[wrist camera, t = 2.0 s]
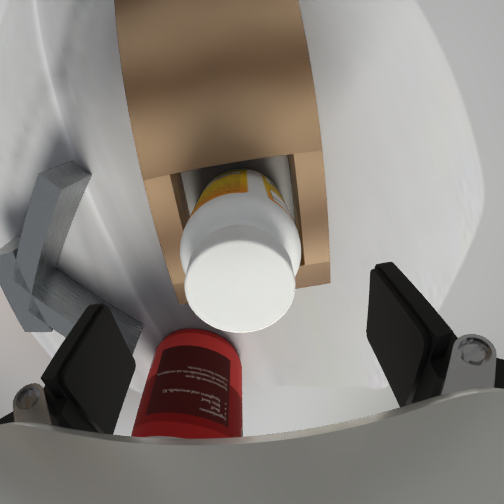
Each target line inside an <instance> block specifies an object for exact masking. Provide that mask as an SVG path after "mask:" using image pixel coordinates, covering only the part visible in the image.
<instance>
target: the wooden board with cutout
mask: <svg viewBox="0 0 504 504" xmlns="http://www.w3.org/2000/svg"><path fill="white" fill-rule="evenodd" d="M114 2H115V15H116V26H117V35H118V44H119V52H120V60H121V67H122V74H123V81H124V87H125V93H126V99H127V105H128V111H129V116H130V121H131V127H132V132H133V137H134V141H135V146H136V151H137V155H138V160H139V164H140V169H141V173H142V177H143V181H144V185H145V190H146V194H147V198H148V201H149V205H150V209H151V213H152V217H153V220H154V224H155V228H156V231H157V235H158V238H159V242H160V245H161V248H162V252H163V255H164V258H165V262H166V265H167V268H168V271H169V275H170V278H171V281H172V284H173V287H174V290H175V293H176V296H177V299H178V302H179V304H188V301H187V298H186V295H185V289H184V281H185V273H184V270H183V267H182V263H181V259H180V243H181V238H182V234H183V231H184V228H185V226H186V224H187V221H188V220H189V218H190V215H189V210H188V206H187V202H186V197H185V193H184V188H183V184H182V179H181V174H180V172H184V171H189V170H194V169H199V168H205V167H210V166H216V165H221V164H227V163H233V162H239V161H245V160H252V159H259V158H266V157H273V156H280V155H288V160H289V168H290V176H291V184H292V193H293V202H294V211H295V220H296V228H297V231H298V234H299V238H300V243H301V260H300V265H299V269H298V271H297V274H296V276H295V283H296V287H295V289H297V288H303V287H309V286H315V285H321V284H327V283H330V250H329V229H328V212H327V198H326V185H325V173H324V162H323V152H322V143H321V134H320V126H319V118H318V110H317V103H316V96H315V89H314V83H313V76H312V70H311V64H310V58H309V53H308V47H307V42H306V37H305V32H304V27H303V22H302V17H301V13H300V8H299V4H298V0H114Z"/></svg>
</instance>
